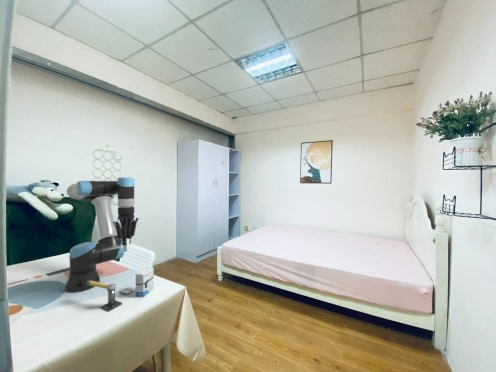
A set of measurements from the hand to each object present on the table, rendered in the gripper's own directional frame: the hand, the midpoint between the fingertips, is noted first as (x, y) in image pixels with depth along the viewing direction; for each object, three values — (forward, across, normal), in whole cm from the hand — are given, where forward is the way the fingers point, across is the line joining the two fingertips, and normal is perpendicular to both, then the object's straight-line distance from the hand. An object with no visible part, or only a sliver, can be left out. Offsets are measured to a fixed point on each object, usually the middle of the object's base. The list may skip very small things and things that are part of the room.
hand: (126, 250), depth 109 cm
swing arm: (+14, -12, +2) cm, 19 cm away
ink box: (+23, +4, -9) cm, 25 cm away
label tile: (+22, 0, 0) cm, 22 cm away
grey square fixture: (+22, -11, -5) cm, 25 cm away
